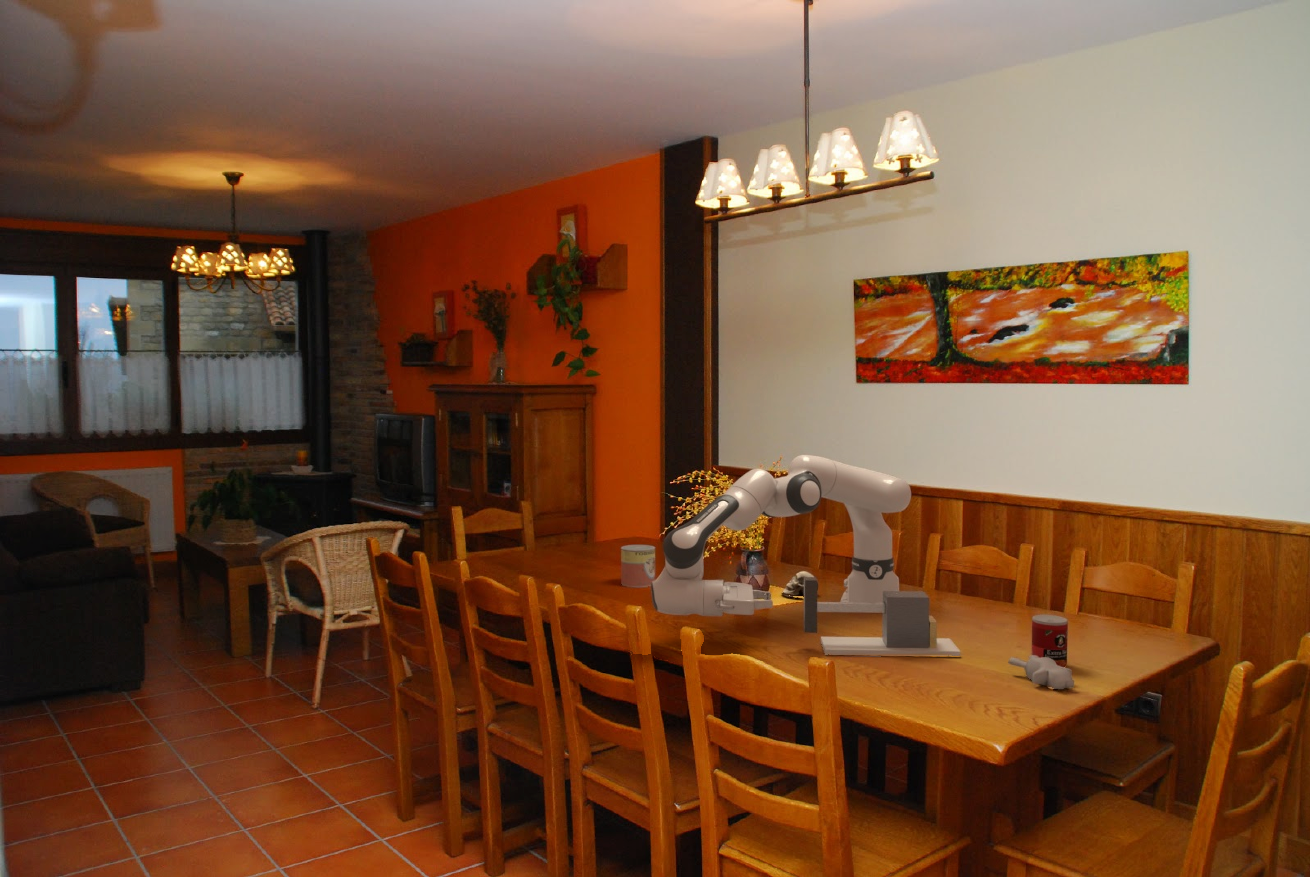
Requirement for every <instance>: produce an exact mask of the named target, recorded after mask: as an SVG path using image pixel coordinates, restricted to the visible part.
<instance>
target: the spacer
mask: <svg viewBox="0 0 1310 877" xmlns="http://www.w3.org/2000/svg"><path fill="white" fill-rule="evenodd" d="M937 635H938V621H937V620H936V619H935V618H934V616H933V615H929V647H930V648H937V637H938V636H937Z"/></svg>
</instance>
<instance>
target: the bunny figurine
mask: <svg viewBox="0 0 1310 877" xmlns="http://www.w3.org/2000/svg"><path fill="white" fill-rule="evenodd" d="M1007 663H1008V664H1009V665H1011V666H1016V667H1020V668H1024V671H1025V674H1026V677H1027V679H1028V678H1029V679H1028V680H1030V679H1031V680H1032V681H1031V680H1030V681H1031V682H1032V683H1033V684H1036V685H1042V686H1046V687H1047V686H1048V687H1052V688H1054V689H1058V690H1065V689H1064V688H1067V689H1073V688H1074V687H1075V680H1074V679H1073V678H1072V673H1073V670H1072V669H1071V668H1068V667H1065V668H1064V667H1061V666H1058V665H1057V664H1056V662H1055V661H1054V660H1053V659H1051V658H1048V657H1041V658H1039V657H1038V656H1036V655H1032V654H1031V655H1029V656H1028V660H1027V661H1025V660H1022V659H1020V658H1017V657H1013V656H1012V657H1010V658H1009V660H1008V662H1007ZM1048 687H1047V688H1048Z"/></svg>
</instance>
